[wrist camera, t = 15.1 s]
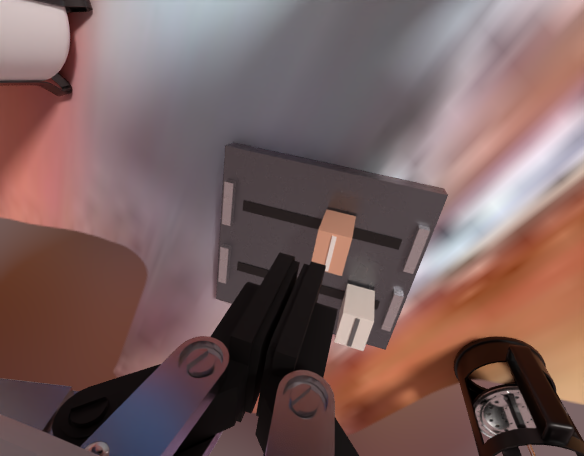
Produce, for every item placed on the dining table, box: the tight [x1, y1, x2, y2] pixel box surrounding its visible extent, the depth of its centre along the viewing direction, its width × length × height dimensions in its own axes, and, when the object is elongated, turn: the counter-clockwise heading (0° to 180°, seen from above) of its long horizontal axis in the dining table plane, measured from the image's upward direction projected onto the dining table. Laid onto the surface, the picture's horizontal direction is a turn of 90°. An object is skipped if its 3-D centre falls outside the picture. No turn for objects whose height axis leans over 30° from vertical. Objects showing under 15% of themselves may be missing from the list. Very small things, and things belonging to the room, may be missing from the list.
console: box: [216, 142, 448, 350], centre depth 36 cm, size 20×22×3 cm
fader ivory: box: [334, 284, 375, 351], centre depth 34 cm, size 4×3×5 cm
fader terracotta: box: [312, 210, 356, 276], centre depth 31 cm, size 4×3×5 cm
